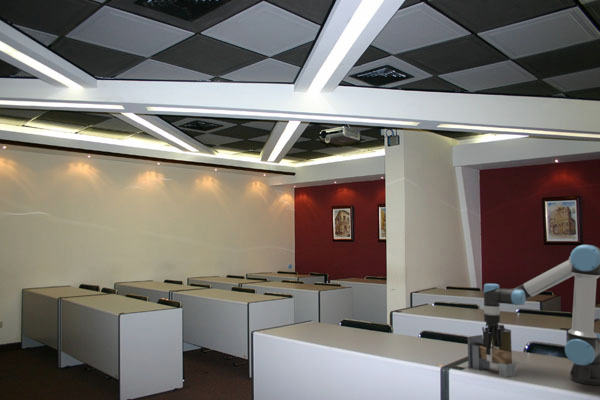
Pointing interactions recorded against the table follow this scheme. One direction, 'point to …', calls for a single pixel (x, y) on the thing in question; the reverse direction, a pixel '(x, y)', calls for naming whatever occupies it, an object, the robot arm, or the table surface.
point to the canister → (504, 340)
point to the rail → (497, 355)
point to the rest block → (507, 369)
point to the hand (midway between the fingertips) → (492, 360)
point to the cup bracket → (476, 353)
